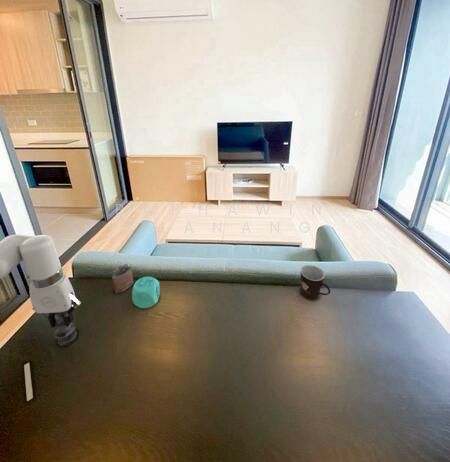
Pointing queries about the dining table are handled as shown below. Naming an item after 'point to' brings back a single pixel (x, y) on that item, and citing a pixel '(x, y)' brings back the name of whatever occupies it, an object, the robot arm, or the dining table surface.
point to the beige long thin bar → (28, 382)
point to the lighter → (122, 278)
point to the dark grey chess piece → (64, 330)
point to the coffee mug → (312, 282)
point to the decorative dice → (146, 292)
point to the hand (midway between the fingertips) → (62, 322)
